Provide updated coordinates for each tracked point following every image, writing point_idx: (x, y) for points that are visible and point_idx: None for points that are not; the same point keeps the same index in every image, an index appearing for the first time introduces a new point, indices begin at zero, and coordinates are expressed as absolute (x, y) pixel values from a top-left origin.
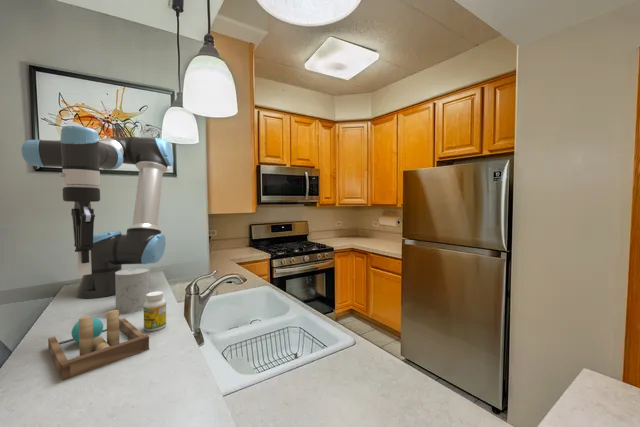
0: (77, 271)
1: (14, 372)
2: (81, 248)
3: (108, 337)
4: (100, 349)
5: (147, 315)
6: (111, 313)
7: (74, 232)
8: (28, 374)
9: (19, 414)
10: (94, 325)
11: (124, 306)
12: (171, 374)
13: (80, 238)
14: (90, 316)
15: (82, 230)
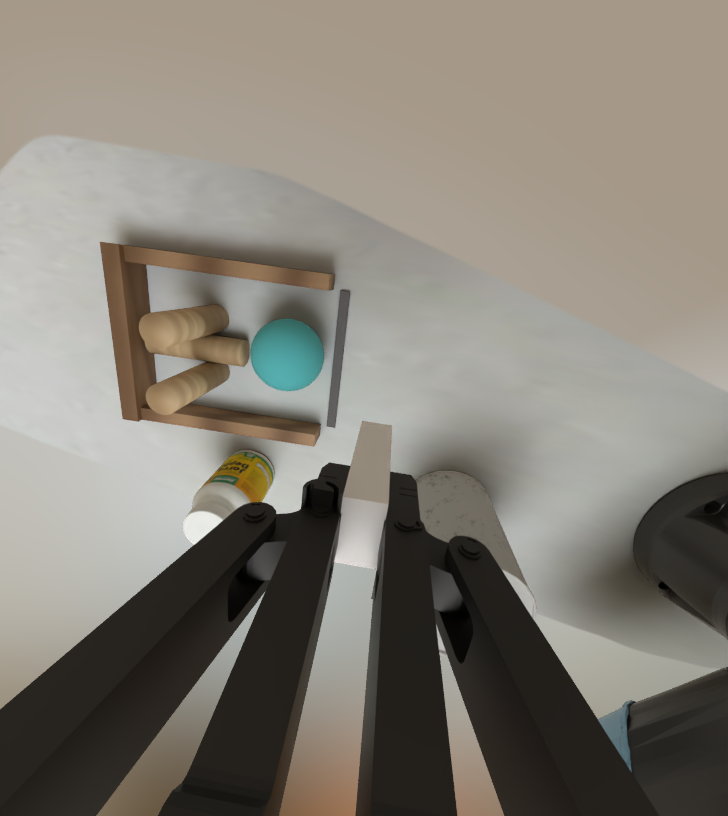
0: (385, 433)
1: (251, 185)
2: (238, 510)
3: (196, 366)
4: (128, 326)
5: (219, 471)
6: (147, 391)
7: (525, 684)
8: (213, 205)
9: (45, 154)
10: (252, 364)
11: (422, 490)
12: (9, 379)
13: (195, 579)
14: (164, 345)
15: (47, 678)
